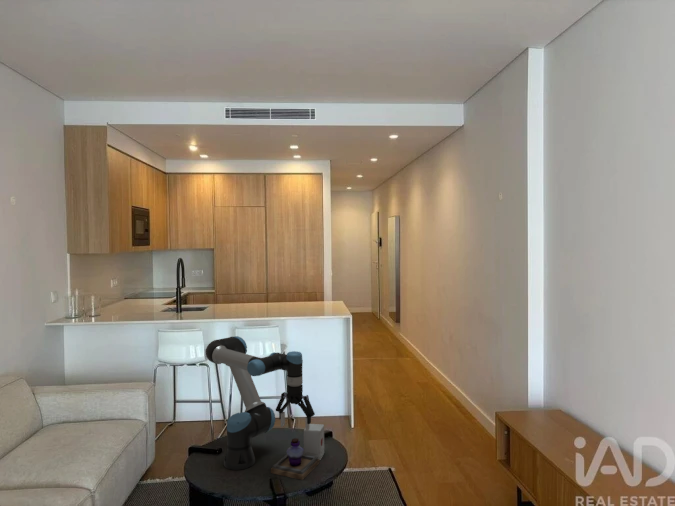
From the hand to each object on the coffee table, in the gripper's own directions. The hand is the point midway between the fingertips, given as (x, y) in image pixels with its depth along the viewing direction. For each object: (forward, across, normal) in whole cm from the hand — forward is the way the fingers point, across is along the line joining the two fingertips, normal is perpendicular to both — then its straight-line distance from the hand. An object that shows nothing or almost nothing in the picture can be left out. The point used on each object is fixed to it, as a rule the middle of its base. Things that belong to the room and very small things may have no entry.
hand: (294, 428), depth 224 cm
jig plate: (+19, 0, 0) cm, 19 cm away
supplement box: (+20, +3, +15) cm, 25 cm away
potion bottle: (+18, 0, 0) cm, 18 cm away
